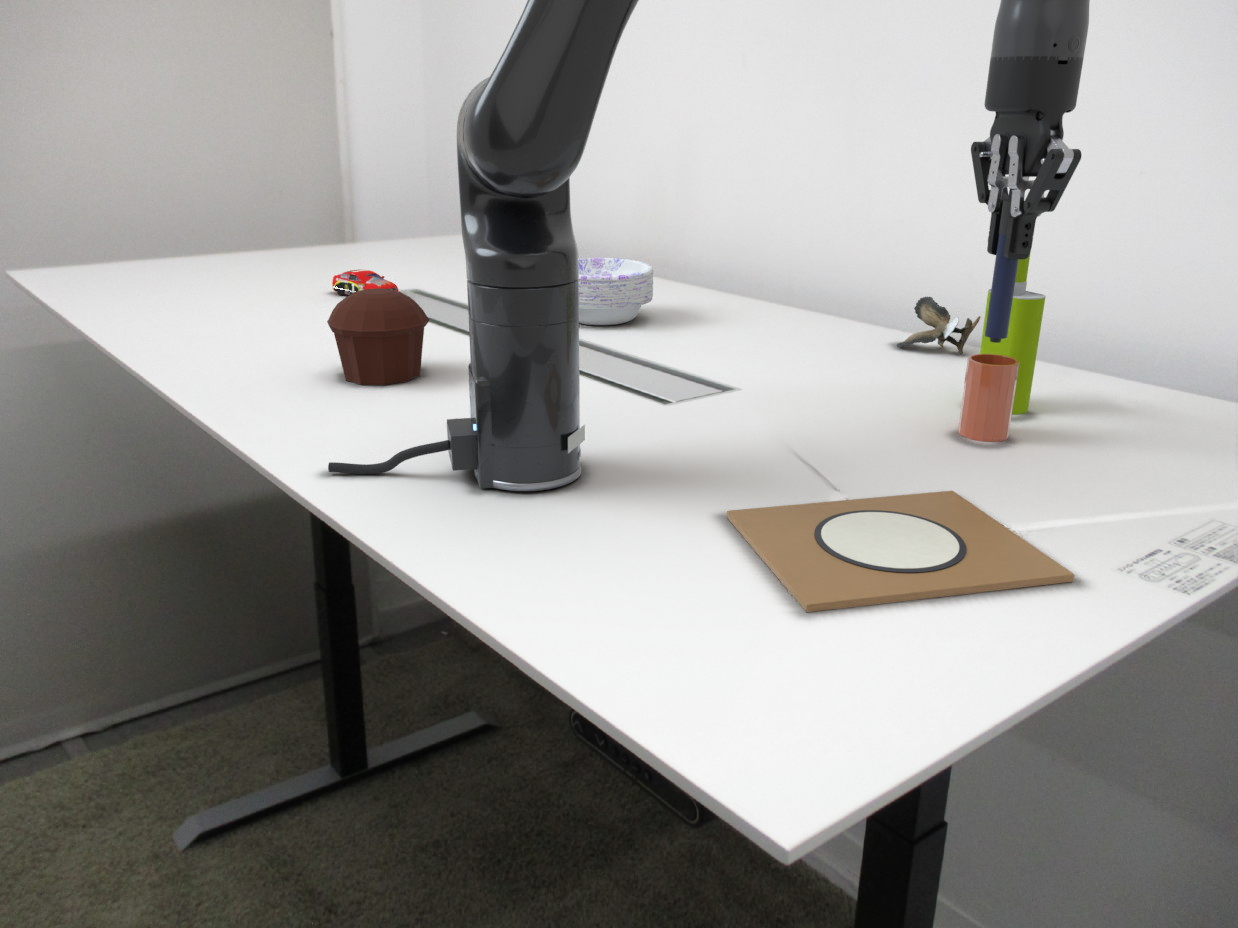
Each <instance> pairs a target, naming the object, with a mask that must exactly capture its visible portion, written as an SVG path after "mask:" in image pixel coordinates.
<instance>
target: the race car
mask: <svg viewBox="0 0 1238 928" xmlns="http://www.w3.org/2000/svg"><path fill="white" fill-rule="evenodd" d="M331 282H332V283H331V284H332V290H333V291H334V292H335V293H337V294H338V295H339V296H346V295H347V296H349V295H350V294H352V293H354V292H350V291H345V290H340V289H335V288H333V286H335V287H336V286H337V287H338V288H343V289H349V290H351V291H356V292H357V291H361V290H365V289H374V288H382V289H390V290H395V291H399V287H398V285H397V284H395V283H394V282H393V281H390V280H387V279H386V278H385V276H384V275H380V274H378V273H377V272H375V271H372V270H369V269H353V270H348V271H343V272H341V273H339V274H334V275H333V277H332V281H331Z"/></svg>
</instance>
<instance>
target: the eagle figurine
mask: <svg viewBox="0 0 1238 928" xmlns="http://www.w3.org/2000/svg"><path fill="white" fill-rule="evenodd" d="M913 309H914V313H915V314H916V317H917V318H918V319H919V320H920V321H922V322H923V323H924V324H925V325H927V326H929V327H932V328H933V329H929V330H924V331H923V330H922V331H918V332H915V333H912V334H910V335H909V336H908V337H907V338H906V339H904V341H902V342H899V343H896V346H897V347H899V348H902V347H907V346H909V345H914V344H920V343H921V344H928V343H933V342H935V341H936V340H937V345H939V346H940V347H941V348H944V344H945V342H948V343H950V344H952V345H953V346H955V347H956V349H957V353H958V354H959V355H960V356H962V355H963V351H964V346H965V345H966V343H967V341H968V339H969V337H970V335H971V334H972V332H973V331H974V329H975V328H976V327H977V325H978V324H979V322H980V319H981V316H980V315H979V316H978V317H976V319H975V320H974V321H973V320H971V318H969V317H967V318H966V321H965V324H964V327H961V328H958V325H959V322H960V320H959V319H960V318H959V316H956V317H955V318H954V319H953V320H951V314H950V312H949V311H948V309H947V308H946V307H945V306H942V305H939V303H938V302H936V301H935V300H934V298H933V297H931V296H923V297H920V298H919V299H918V300H917V302H915V306H914V308H913ZM950 320H951V321H950ZM954 333H955V334H961V335H960V338H959V340H958V341H957V340H956V338H954V337H953V336H951V334H954Z"/></svg>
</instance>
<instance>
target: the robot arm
mask: <svg viewBox="0 0 1238 928" xmlns="http://www.w3.org/2000/svg"><path fill="white" fill-rule="evenodd" d="M639 1H640V0H527V1H526V3H525V6H524V8H523V10H522V13H521V15H520V17H519V19H518V21H517V23H516V25H515V27H514V29H513V31H512V34H511V35H510V38H509V40H508V42H507V44H506V46H505V48H504V50H503V52H502V53H501V56H500V58H499V59H498V61H497V63H496V65H495V67H494V68H493V70H492V72H491V74H490V75H489V76H488V77H486V78H484V79H483V80H481V81H480V82H478V83H477V84H476V85H475V86H474V87H473V88H472V89H471V90H470V91H469V92H468V94H467V95H466V96H465V98H464V100H463V102H462V104H461V107H460V109H459V113H458V116H457V123H456V156H457V158H456V159H457V175H458V177H457V178H458V191H459V192H458V193H459V207H460V221H461V222H460V225H461V227H460V228H461V236H462V237H461V238H462V244H463V250H464V251H463V252H464V257H465V258H464V259H465V270H466V287H467V288H466V290H467V291H466V292H467V309H468V310H467V313H468V332H469V351H470V352H469V354H470V362H469V363H468V370H467V371H468V387H469V389H468V390H469V391H468V392H469V410H470V412H469V413H470V417H463V418H462V417H461V418H447V419H446V433H447V439H446V440H441V441H436V442H431V443H426V444H421V445H417V446H413V447H410V448H407V449H404V450H401V451H399V452H397V453H395V454H394V455H393V456H391V457H390V458H389V459H388V460H386V461H383V462H379V463H371V464H370V463H369V464H368V463H367V464H366V463H365V464H363V463H361V464H359V463H347V462H336V461H335V462H330V461H329V462H328V465H327V469H328V472H329V473H338V474H339V473H340V474H353V475H377V474H382V473H383V474H384V473H387V472H389V471H392V470H393V469H395V468H396V467H397V466H399V465H400V464H401V463H404V462H405V461H408V460H411V459H413V458H417V457H421V456H426V455H430V454H436V453H440V452H441V453H442V452H446V451H448V452H447V453H448V456H449V461H450V463H451V469H452V471H454V472H455V471H467V470H474V476H475V478H476V480H477V484H478V487H479V489H498V490H504V491H513V492H537V491H544V490H552V489H556V488H560V487H564V486H566V485H569V484H570V483H572V482H574V481H576V480H577V479H578V478H580V476H581V474H582V461H581V444H582V443H583V442H584V441H585V440H586V424H583V425H582V426H581V401H580V400H581V398H580V397H581V395H580V393H581V392H580V388H581V387H580V383H581V382H580V323H579V259H580V257H579V248H578V243H577V240H576V236H575V232H574V227H573V221H572V211H571V182H570V181H571V180H570V178H571V176H572V174H573V173H574V172H575V171H576V169H577V167H578V165H579V164H580V162H581V160H582V157H583V155H584V153H585V150H586V147H587V144H588V143H587V142H588V140H589V137H590V133H591V130H592V126H593V124H594V120H595V116H596V114H597V109H598V106H599V104H600V100H601V97H602V93H603V90H604V88H605V85H606V82H607V78H608V75H609V72H610V68H611V66H612V63H613V59H614V57H615V54H616V51H617V48H618V46H619V43H620V41H621V38H622V36H623V33H624V31H625V29H626V26H627V25H628V23H629V20H630V19H631V16H632V15H633V13H634V11H635V8H636V7H637V6H638V5H637V4H638V3H639ZM1090 1H1091V0H1000V4H999V8H998V12H997V16H996V19H995V24H994V29H993V37H992V43H991V51H990V59H989V66H988V74H987V82H986V89H985V98H984V109H985V110H986V111H988V112H995V116H994V120H993V123H992V125H991V127H990V131H989V136H988V137H987V138H986V139H985V140H984V141H973V142H972V143H971V146H970V154H971V160H972V168H973V174H974V180H975V187H976V194H977V200H978V202H979V203H980V204H985V205H986V206H987V210H988V212H989V213H991V215H990V222H989V229H988V230H989V231H988V235H987V249H986V251H987V253H988V254H990V255H992V256H996V252H997V245H998V238H999V227H1000V220H1001V213H1002V206H1003V201H1004V200H1011V215H1012V216H1013V217H1009V221H1008V228H1007V235H1006V242H1005V249H1004V257H1005V258H1007V259H1011V260H1018V259H1027V258H1028V257H1029V255H1030V256H1031V253H1030V251H1031V252H1032V247H1033V242H1032V241H1034V235H1035V227H1036V221H1037V218H1038V217H1040V216H1041V215H1042V214H1044V213H1052V212H1054V211H1055V210H1056V208H1057V206H1058V204H1059V202H1060V200H1061V198H1062V197H1063V195H1064V192H1065V191H1066V189H1067V187H1068V185H1069V183H1070V181H1071V180H1072V177H1073V176H1074V173H1075V171H1076V169H1077V167H1078V166H1079V164H1080V162H1081V160H1082V151H1081V149H1079V148H1069V147H1068V145H1066V143H1065V142H1064V137H1065V136H1064V134H1065V132H1064V125H1063V118H1064V115H1065V114H1068V113H1071V112H1073V111H1074V110H1075V109H1076V107H1077V101H1078V95H1079V88H1080V83H1081V77H1082V70H1083V65H1084V58H1085V52H1086V47H1087V38H1088V33H1089V26H1090V25H1089V24H1090ZM1030 178H1035V179H1032V180H1030ZM989 186H990V187H989ZM1008 189H1009V190H1008ZM1027 190H1029V191H1028V193H1027V195H1026V191H1027ZM1046 191H1048V193H1047V194H1046V196H1045V192H1046ZM1025 196H1026V197H1025Z"/></svg>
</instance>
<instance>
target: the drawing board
mask: <svg viewBox="0 0 1238 928" xmlns="http://www.w3.org/2000/svg"><path fill="white" fill-rule="evenodd" d="M726 519H728V521H729V522H730V523H731V524H732V526H733V527H734V528H735V529H736V531H738V533H739V534H740V535H741V537H743V539H744V540H745V541H746V542H747V543H748V545H749V546H750V547H751V548H752V549H753V550H754V552H755V553H756V554H757V556H759V557H760V559H761V560H762V561H763V562H764V564H765V565H766V566H767V567H768V568H769V569H770V571H771V572H772V574H774V575H775V577H776V579H778V580H779V581H780V582H781V584H782V585H783V586H784V587H785V588H786V590H787V591H788V592H789V593H790V595H791V596H792V597H793V598H794V600H795V601H796V602H797V603H798V604H799V605H800V606H801V608H802V609H803V610H804V611H805V613H811V612H819V611H828V610H837V609H845V608H846V609H847V608H854V607H865V606H872V605H881V604H891V603H898V602H907V601H917V600H925V599H934V598H943V597H950V596H952V597H953V596H959V595H968V594H976V593H986V592H995V591H1002V590H1003V591H1004V590H1011V589H1020V588H1021V589H1022V588H1030V587H1038V586H1039V587H1040V586H1046V585H1048V586H1049V585H1055V584H1066V583H1073V582H1074V579H1075V573H1074V572H1072V571H1070V570H1069V569H1068V568H1066V567H1065V566H1063V565H1062V564H1060V563H1059V562H1058V561H1056V560H1054V559H1053V558H1052V557H1050V556H1049V555H1047V554H1046V553H1044V552H1042V551H1041V550H1040V549H1039V548H1037V547H1035V546H1034V545H1032V544H1031V543H1029V542H1028V541H1027V540H1025V539H1023V537H1021V536H1019V535H1018V534H1017V533H1016V532H1014V531H1012V530H1011V529H1009V528H1008V527H1006V526H1005V525H1003V524H1002V523H1000V522H999V521H997V520H996V519H995V518H993V517H992V516H990V515H989V514H987V513H986V512H984V511H983V510H981V509H980V508H979V507H977V506H976V505H974V504H973V503H971V502H970V501H969V500H967V499H965V498H964V497H962V496H961V495H960V494H959V493H957V492H955V491H954V490H945V491H944V490H943V491H933V492H922V493H921V492H920V493H910V494H899V495H889V496H888V495H887V496H877V497H867V498H866V497H865V498H855V499H843V500H833V501H821V502H810V503H809V502H808V503H799V504H798V503H797V504H788V505H787V504H785V505H778V506H777V505H775V506H766V507H755V508H753V507H752V508H743V509H742V508H741V509H732V510H727V511H726Z"/></svg>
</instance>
